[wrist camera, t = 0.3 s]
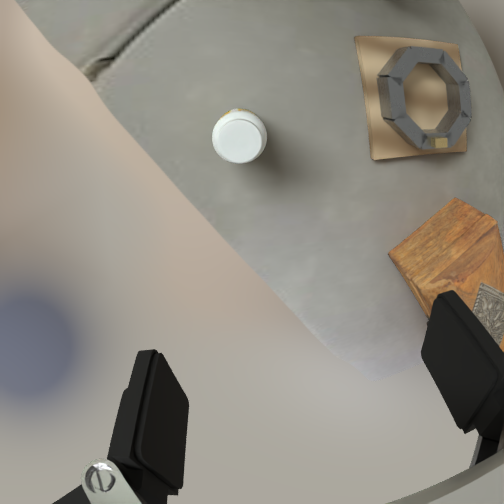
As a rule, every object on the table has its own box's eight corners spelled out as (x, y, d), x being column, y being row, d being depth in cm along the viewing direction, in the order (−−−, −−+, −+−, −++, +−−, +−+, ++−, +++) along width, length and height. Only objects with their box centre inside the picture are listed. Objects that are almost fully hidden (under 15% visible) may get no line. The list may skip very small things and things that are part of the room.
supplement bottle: (257, 104, 33) (265, 107, 25) (265, 147, 36) (275, 164, 27) (211, 113, 33) (203, 119, 25) (221, 156, 36) (216, 176, 27)
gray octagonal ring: (371, 47, 29) (385, 43, 25) (451, 53, 28) (469, 52, 25) (384, 147, 35) (398, 153, 31) (459, 141, 34) (476, 147, 31)
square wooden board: (354, 37, 29) (357, 35, 28) (452, 45, 28) (457, 44, 27) (370, 157, 37) (374, 159, 36) (461, 149, 36) (466, 151, 35)
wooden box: (380, 254, 44) (423, 312, 32) (457, 191, 40) (516, 230, 27) (432, 345, 56) (460, 392, 44) (489, 299, 51) (524, 340, 39)
